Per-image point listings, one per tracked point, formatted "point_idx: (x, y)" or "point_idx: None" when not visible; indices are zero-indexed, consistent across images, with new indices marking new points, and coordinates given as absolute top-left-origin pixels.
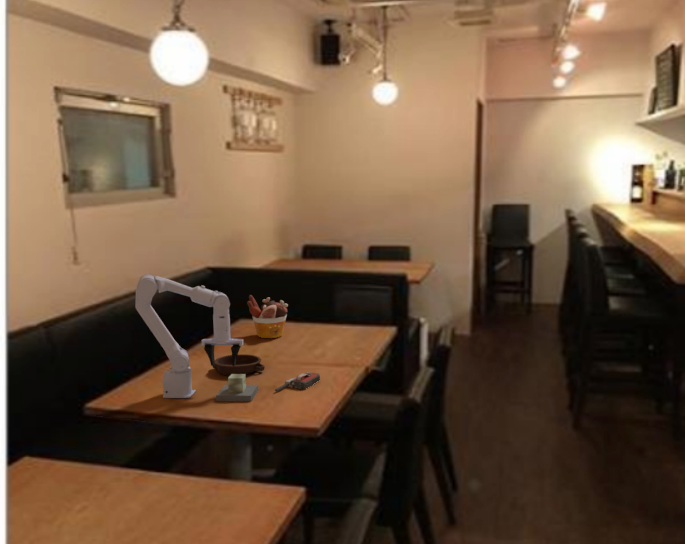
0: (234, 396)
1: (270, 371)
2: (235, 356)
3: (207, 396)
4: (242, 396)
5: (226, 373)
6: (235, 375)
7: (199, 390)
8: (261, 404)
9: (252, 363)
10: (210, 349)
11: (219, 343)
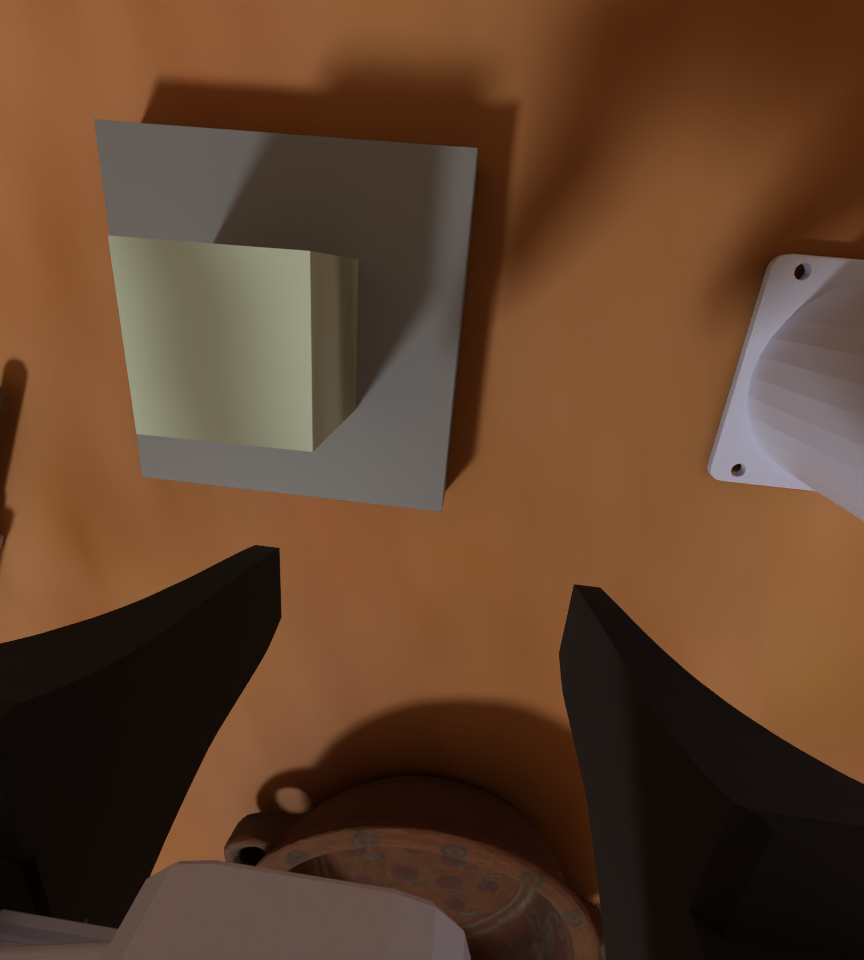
0: (273, 136)
1: (213, 823)
2: (123, 610)
3: (583, 321)
4: (186, 127)
5: (487, 799)
6: (242, 379)
7: (672, 497)
8: (5, 31)
9: (278, 867)
10: (714, 794)
11: (279, 933)
